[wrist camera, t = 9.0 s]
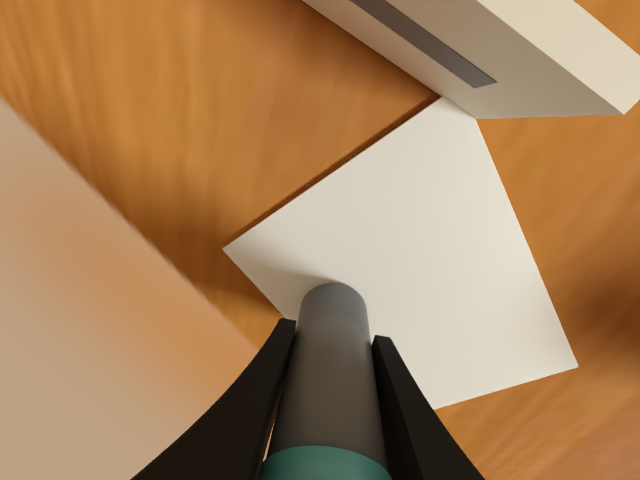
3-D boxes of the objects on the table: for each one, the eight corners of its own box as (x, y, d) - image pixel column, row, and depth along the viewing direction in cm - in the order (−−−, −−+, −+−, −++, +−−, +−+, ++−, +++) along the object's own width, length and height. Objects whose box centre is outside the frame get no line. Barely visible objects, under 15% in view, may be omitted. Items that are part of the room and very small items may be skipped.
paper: (575, 363, 13) (578, 366, 13) (383, 420, 16) (384, 424, 16) (458, 85, 8) (460, 84, 8) (223, 247, 11) (221, 249, 11)
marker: (359, 341, 13) (382, 624, 6) (295, 329, 13) (234, 596, 6) (376, 288, 11) (437, 580, 4) (303, 275, 11) (235, 543, 4)
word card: (473, 119, 8) (622, 116, 4) (262, -26, 7) (135, -262, 3) (488, 100, 8) (664, 74, 4) (271, -53, 7) (147, -357, 3)
